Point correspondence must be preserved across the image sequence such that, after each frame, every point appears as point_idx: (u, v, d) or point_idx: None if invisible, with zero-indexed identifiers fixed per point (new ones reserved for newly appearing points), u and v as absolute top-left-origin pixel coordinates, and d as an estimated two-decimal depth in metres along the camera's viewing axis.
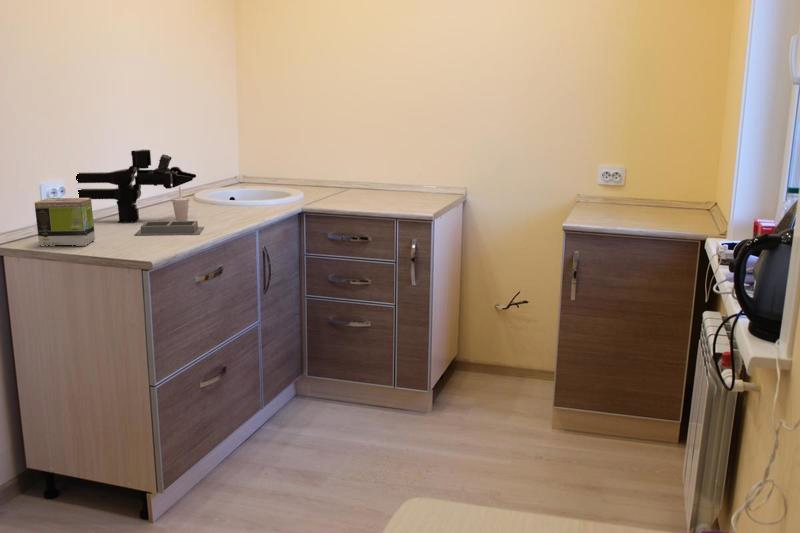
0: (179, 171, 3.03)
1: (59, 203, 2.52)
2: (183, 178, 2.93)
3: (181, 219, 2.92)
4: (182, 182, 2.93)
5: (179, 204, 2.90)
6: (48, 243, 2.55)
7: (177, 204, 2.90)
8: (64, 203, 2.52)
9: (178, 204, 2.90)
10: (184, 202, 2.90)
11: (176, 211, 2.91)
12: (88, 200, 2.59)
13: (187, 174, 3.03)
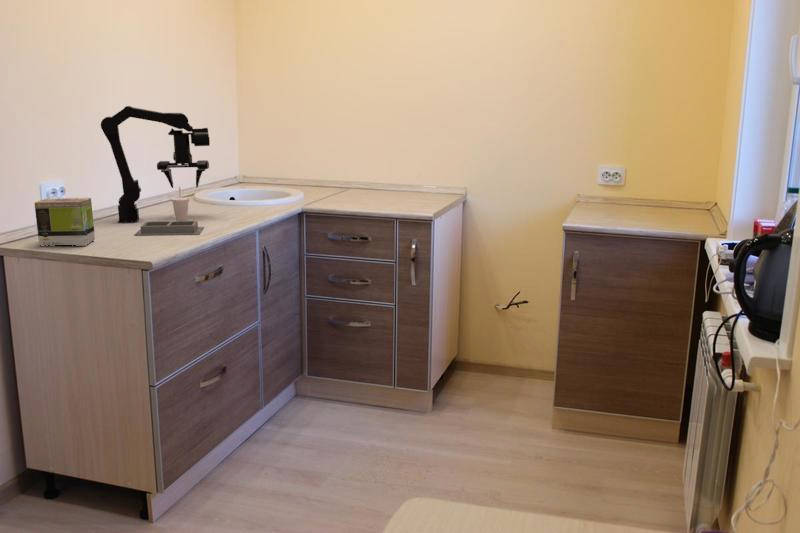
0: (170, 171, 3.03)
1: (59, 203, 2.52)
2: (199, 178, 3.03)
3: (181, 219, 2.92)
4: (199, 178, 3.02)
5: (179, 204, 2.90)
6: (48, 243, 2.55)
7: (177, 204, 2.90)
8: (64, 203, 2.52)
9: (178, 204, 2.90)
10: (184, 202, 2.90)
11: (176, 211, 2.91)
12: (88, 200, 2.59)
13: None
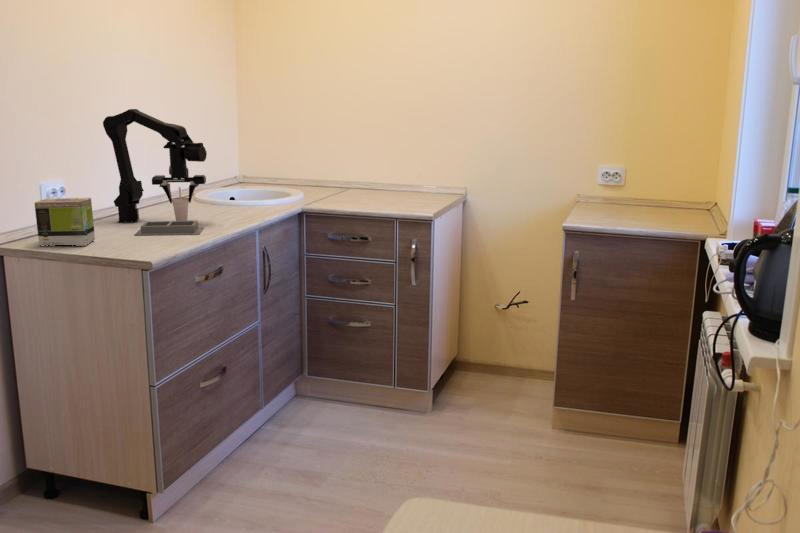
0: (169, 186, 2.92)
1: (59, 203, 2.52)
2: (192, 194, 2.92)
3: (181, 219, 2.92)
4: (192, 193, 2.91)
5: (179, 204, 2.90)
6: (48, 243, 2.55)
7: (177, 204, 2.90)
8: (64, 203, 2.52)
9: (178, 204, 2.90)
10: (184, 202, 2.90)
11: (176, 211, 2.91)
12: (88, 200, 2.59)
13: (170, 194, 2.92)
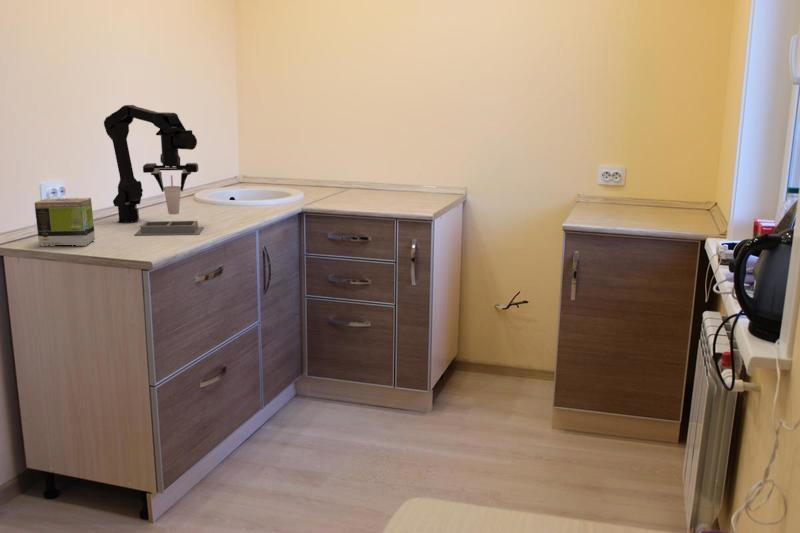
0: (161, 174, 2.87)
1: (59, 203, 2.52)
2: (184, 182, 2.87)
3: (173, 208, 2.86)
4: (184, 182, 2.85)
5: (171, 193, 2.84)
6: (48, 243, 2.55)
7: (169, 193, 2.84)
8: (64, 203, 2.52)
9: (170, 193, 2.84)
10: (176, 190, 2.85)
11: (168, 200, 2.85)
12: (88, 200, 2.59)
13: (162, 182, 2.86)
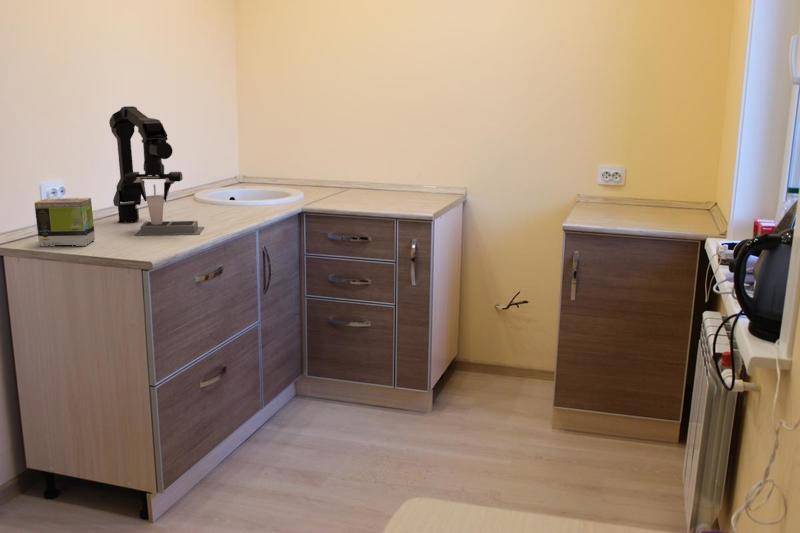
0: None
1: (59, 203, 2.52)
2: (168, 191, 2.78)
3: (156, 218, 2.77)
4: (167, 191, 2.76)
5: (154, 202, 2.75)
6: (48, 243, 2.55)
7: (151, 202, 2.75)
8: (64, 203, 2.52)
9: (152, 202, 2.75)
10: (159, 200, 2.75)
11: (150, 210, 2.76)
12: (88, 200, 2.59)
13: (145, 192, 2.77)
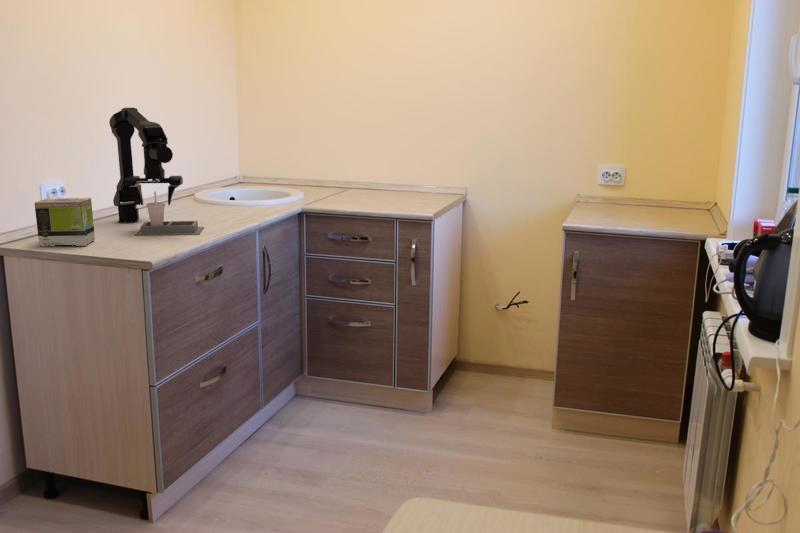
0: (140, 187, 2.77)
1: (59, 203, 2.52)
2: (171, 195, 2.78)
3: None
4: (171, 195, 2.77)
5: (154, 209, 2.76)
6: (48, 243, 2.55)
7: (152, 209, 2.76)
8: (64, 203, 2.52)
9: (153, 209, 2.76)
10: (159, 207, 2.76)
11: (151, 217, 2.77)
12: (88, 200, 2.59)
13: None
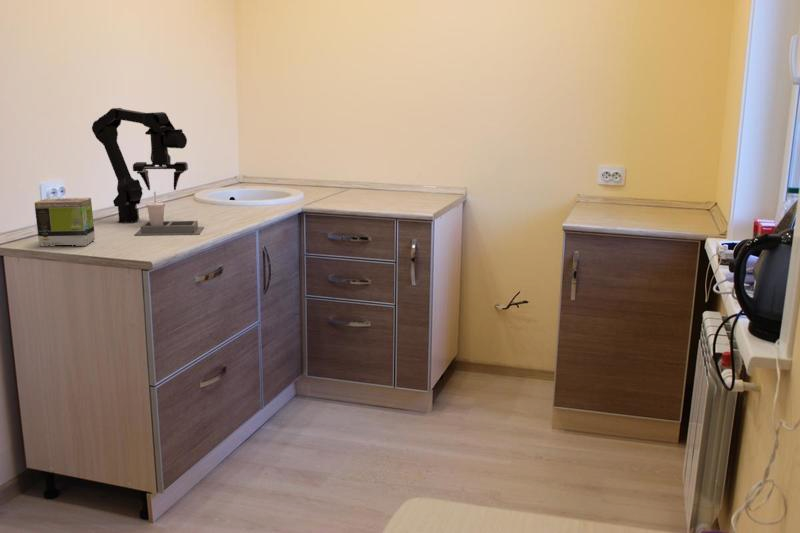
0: (147, 172, 2.90)
1: (59, 203, 2.52)
2: (177, 181, 2.90)
3: None
4: (177, 180, 2.89)
5: (154, 209, 2.76)
6: (48, 243, 2.55)
7: (152, 209, 2.76)
8: (64, 203, 2.52)
9: (153, 209, 2.76)
10: (159, 207, 2.76)
11: (151, 217, 2.77)
12: (88, 200, 2.59)
13: (148, 181, 2.90)
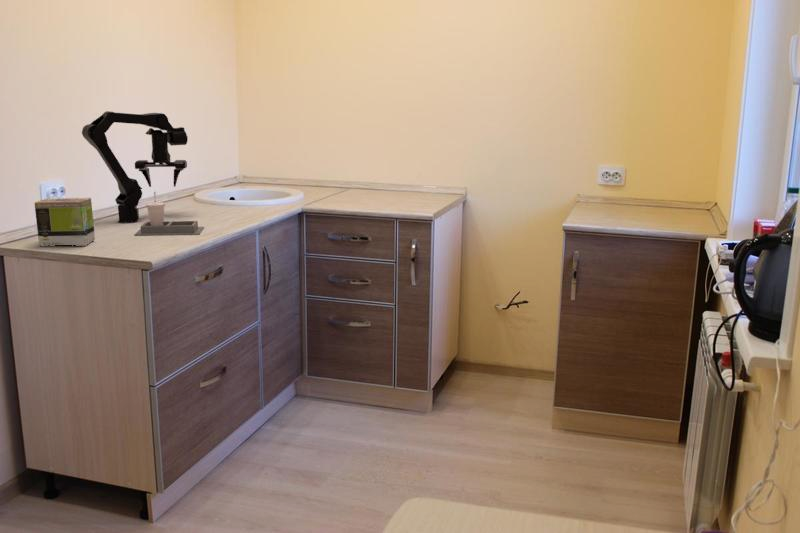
0: (148, 170, 3.06)
1: (59, 203, 2.52)
2: (177, 178, 3.06)
3: None
4: (176, 177, 3.05)
5: (154, 209, 2.76)
6: (48, 243, 2.55)
7: (152, 209, 2.76)
8: (64, 203, 2.52)
9: (153, 209, 2.76)
10: (159, 207, 2.76)
11: (151, 217, 2.77)
12: (88, 200, 2.59)
13: None
